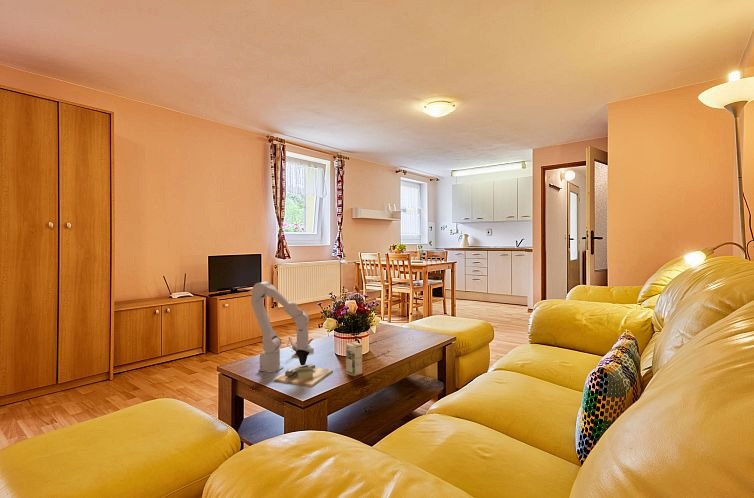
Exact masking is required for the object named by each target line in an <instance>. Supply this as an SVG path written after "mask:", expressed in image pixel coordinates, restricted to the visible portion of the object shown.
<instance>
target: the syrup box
mask: <svg viewBox="0 0 754 498" xmlns="http://www.w3.org/2000/svg"><path fill="white" fill-rule="evenodd" d="M345 348H346V349H345V353H346V354H345V363H346V365H345V369H346V370H345V374H346V375H349V376H352V377H356V376H359V375H362V374H363V343H358V342H355V341H353V342H348V343H346V346H345Z"/></svg>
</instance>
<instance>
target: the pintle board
mask: <svg viewBox="0 0 754 498" xmlns="http://www.w3.org/2000/svg"><path fill="white" fill-rule="evenodd" d="M302 366H303V365H300V364H299V365H295V366H294V367H292V368H290V369H291V370H293V369H296V368H299V367H302ZM333 371H334V370H333V369H331V368H330V369H329V368H321V367H315V368H313V378H306V379H298V374H296V375H294V376H291V377H287V376H285V372H283V373H281V374H280V375H278V376H276V377H274V378H273V379H272V380H273V382H277V383H284V384H290V385H292V384H293V385H297V386H298V385H299V386H303V387H304V386H305V387H314V386H315V385H316V384H317V383H319V382H320V381H322V380H323V379H324V378H326V377H327V376H329V375H331V373H333Z"/></svg>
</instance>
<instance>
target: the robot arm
mask: <svg viewBox="0 0 754 498" xmlns="http://www.w3.org/2000/svg"><path fill="white" fill-rule="evenodd" d="M266 297H271V298H273V299H274V300H275V301H276V302H278V303H279V304H280V305H281V306H282V307H283V310H284V312H286V314H288V316H289V317H291V318H292V319H293V320H294V323H295V325H296V342H297V344H295V343H292V345H291V347H292V348H296V349H298V351H295V353H296V354H297V355H296V356H297V358H298V361H299V366H305V365H307V364H306V363H307V358H308V357H309V354H312V353H315V351H314V347H312V346H311V345H310V344H308V341H309V323H308V322H309V321H310V315H309V313H308V312H306V311H304V310H303V309H301V308H299V306H298V305H297V303H296V302H292V301H289V300H288V299H287V298H286V297H284V295H283V294H282V293H281V292H280V291H279V290H278V289H277V287H276V286H274V285H273V284H271V282H270V281H268V280H265V281H264V280H263V281H261V282H256V283H255V284H253V287H252V288H251V296H250V303H251V306H252V309H253V312H254V315H255V317H256V320H257V323H258V325H259V329H260V331H261V334H262V339H261V341H262V350H263V351H261V352H260V354H259V369H258V371H261V372H267V373H272V374H273V373H276V372H278V371H280V370H281V369H284V366H282V365H281V357H280V355H281V351H280V347H281V345H282V339H281V337H279V336H278V334H277V332H275V330H274V329H273V326H272V324H271V321H270V318H269V315H268V312H267V310H266V307H265V303H264V300H265V298H266ZM292 348H291V349H292Z"/></svg>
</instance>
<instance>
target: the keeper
mask: <svg viewBox="0 0 754 498" xmlns="http://www.w3.org/2000/svg"><path fill="white" fill-rule="evenodd" d="M297 371H298V379H306V378H313V369H312V367H304V368H297Z"/></svg>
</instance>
